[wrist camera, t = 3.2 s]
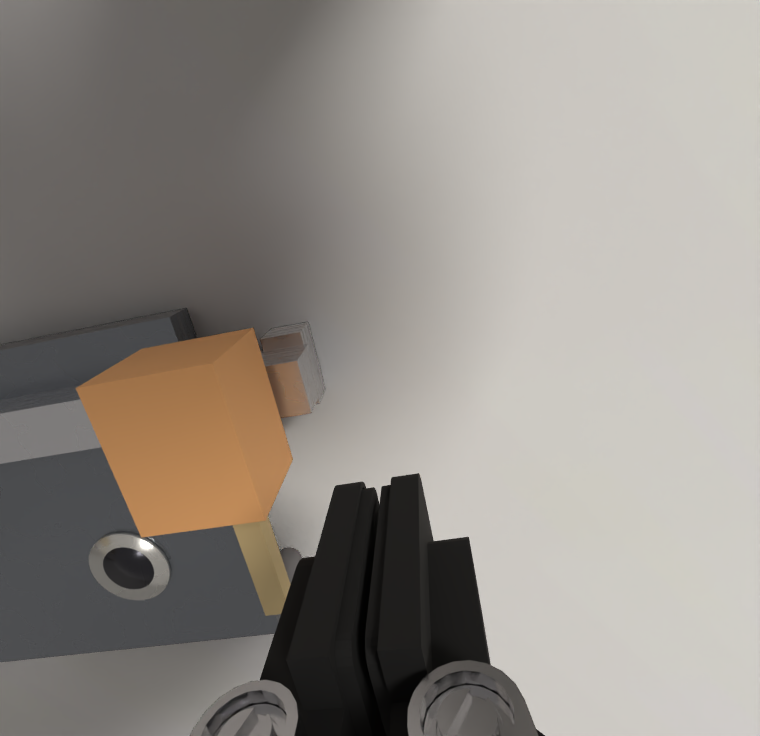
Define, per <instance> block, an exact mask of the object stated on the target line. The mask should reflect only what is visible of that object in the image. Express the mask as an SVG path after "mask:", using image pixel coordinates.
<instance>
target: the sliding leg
mask: <svg viewBox="0 0 760 736" xmlns="http://www.w3.org/2000/svg"><path fill="white" fill-rule="evenodd" d="M76 390H77V393H78V395H79V397H80V399H81V402H82V404H83V406H84V409H85V411H86V413H87V415H88V418H89V420H90V422H91V424H92V427H93V429H94V431H95V433H96V436H97V438H98V440H99V443H100V445H101V447H102V449H103V452H104V454H105V456H106V458H107V461H108V463H109V465H110V468H111V470H112V472H113V474H114V477H115V479H116V481H117V483H118V486H119V488H120V490H121V492H122V495H123V497H124V499H125V502H126V504H127V506H128V508H129V511H130V513H131V515H132V517H133V520H134V522H135V524H136V527H137V529H138V531H139V533H140V536H141V538H142V537H149V536H156V535H164V534H171V533H179V532H186V531H193V530H201V529H208V528H215V527H223V526H230V525H233V528H234V531H235V533H236V536H237V539H238V542H239V544H240V547H241V550H242V553H243V555H244V558H245V561H246V564H247V566H248V569H249V572H250V575H251V577H252V580H253V583H254V586H255V588H256V591H257V594H258V597H259V599H260V602H261V605H262V608H263V610H264V613H265V616H268V615H277V614H281V613H282V610H283V606H284V603H285V600H286V597H287V594H288V591H289V588H290V585H291V582H292V579H293V575H294V572H295V569H296V566H297V564H298V562H299V560H301V559H302V557H301V554H300V552H299V551H298V550H296V549H294V548H284V549H282V550H281V551H279V548H278V545H277V542H276V539H275V536H274V533H273V530H272V527H271V524H270V521H269V518H268V514H269V512H270V510H271V508H272V505H273V503H274V501H275V499H276V496H277V494H278V492H279V490H280V487H281V485H282V483H283V481H284V478H285V476H286V474H287V472H288V469H289V467H290V465H291V462H292V460H293V458H292V455H291V451H290V448H289V445H288V441H287V438H286V435H285V431H284V428H283V425H282V421H281V418H280V415H279V411H278V408H277V405H276V401H275V398H274V395H273V391H272V388H271V385H270V381H269V378H268V375H267V371H266V368H265V365H264V361H263V358H262V355H261V351H260V348H259V345H258V341H257V338H256V335H255V331H254V328H249V329H243V330H238V331H233V332H228V333H222V334H217V335H212V336H206V337H201V338H196V339H191V340H185V341H180V342H175V343H169V344H164V345H159V346H154V347H148V348H143V349H140V350H139V351H137V352H135V353H134V354H132V355H130V356H129V357H127V358H125V359H124V360H122V361H120V362H119V363H117V364H115V365H114V366H112V367H110V368H109V369H107V370H105V371H104V372H102V373H100V374H99V375H97V376H95V377H94V378H92V379H90V380H89V381H87V382H85V383H83V384H82V385H80V386H78V387H77V388H76Z"/></svg>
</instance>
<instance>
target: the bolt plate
mask: <svg viewBox="0 0 760 736" xmlns="http://www.w3.org/2000/svg"><path fill="white" fill-rule="evenodd" d="M196 338H197V337H196V334H195V331H194V329H193V326H192V323H191V320H190V317H189V314H188V311H187V308H184V309H179V310H174V311H169V312H164V313H159V314H154V315H149V316H144V317H139V318H134V319H129V320H123V321H118V322H113V323H108V324H103V325H98V326H93V327H88V328H83V329H78V330H73V331H68V332H63V333H58V334H53V335H48V336H43V337H38V338H33V339H28V340H23V341H18V342H13V343H8V344H3V345H0V662H6V661H16V660H26V659H35V658H45V657H54V656H64V655H73V654H83V653H93V652H102V651H112V650H121V649H131V648H141V647H150V646H160V645H169V644H179V643H188V642H198V641H208V640H217V639H227V638H236V637H246V636H256V635H265V634H275V631H276V628H277V625H278V622H279V619H280V616H281V614H277V615H268V616H265V613H264V610H263V608H262V605H261V602H260V599H259V597H258V594H257V591H256V588H255V586H254V583H253V580H252V577H251V575H250V572H249V569H248V566H247V564H246V561H245V558H244V555H243V553H242V550H241V547H240V544H239V542H238V539H237V536H236V533H235V531H234V528H233V525H230V526H223V527H215V528H208V529H201V530H193V531H186V532H179V533H171V534H164V535H156V536H149V537H142V538H141V536H140V533H139V531H138V529H137V527H136V524H135V522H134V520H133V517H132V515H131V513H130V511H129V508H128V506H127V504H126V502H125V499H124V497H123V495H122V492H121V490H120V488H119V486H118V483H117V481H116V479H115V477H114V474H113V472H112V470H111V468H110V465H109V463H108V461H107V458H106V456H105V454H104V452H103V449H102V447H101V445H100V443H99V440H98V438H97V436H96V433H95V431H94V429H93V427H92V424H91V422H90V420H89V418H88V415H87V413H86V411H85V409H84V406H83V404H82V402H81V399H80V397H79V395H78V393H77V390H76V388H77V387H78V386H80V385H82V384H83V383H85V382H87V381H89V380H90V379H92V378H94V377H95V376H97V375H99V374H100V373H102V372H104V371H105V370H107V369H109V368H110V367H112V366H114V365H115V364H117V363H119V362H120V361H122V360H124V359H125V358H127V357H129V356H130V355H132V354H134V353H135V352H137V351H139V350H140V349H143V348H148V347H154V346H159V345H164V344H169V343H175V342H180V341H185V340H191V339H196ZM260 341H261V344H262V347H263V351H264V352H261V355H262V358H263V361H264V365H265V368H266V371H267V375H268V378H269V381H270V385H271V388H272V391H273V395H274V398H275V401H276V405H277V408H278V411H279V415H280V418H284V417H290V416H297V415H303V414H309V413H312V411H313V408H314V406H315V404H319V403H320V401H321V399H322V397H323V394H324V392H325V390H326V388H325V384H324V380H323V377H322V373H321V369H320V365H319V361H318V357H317V354H316V350H315V346H314V342H313V338H312V335H311V331H310V327H309V323H308V322H305V323H299V324H294V325H289V326H283V327H278V328H273V329H270V330H269V331H268V332H267V333H266V334H265V335H264V336H263V337H262V338H261V339H260Z"/></svg>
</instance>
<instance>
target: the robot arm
mask: <svg viewBox="0 0 760 736" xmlns="http://www.w3.org/2000/svg"><path fill="white" fill-rule="evenodd" d="M189 736H545V735H543V734H542V733H541V732H539V731H538V730H537V729H536V728H535V725H534V722H533V720H532V717H531V715H530V712H529V710H528V707H527V704H526V702H525V699H524V698H523V696H522V694H521V692H520V691H519V689H518V687H517V685H516V684H515V683H514V682H513V681H512V680H511V679H510V678H509V677H508V676H507V675H506V674H505V673H504V672H503V671H501V670H499V669H497V668H495V667H493V666H491V664H490V658H489V652H488V646H487V640H486V634H485V628H484V622H483V616H482V610H481V604H480V599H479V593H478V587H477V581H476V575H475V570H474V564H473V558H472V553H471V547H470V541H469V537H464V538H456V539H449V540H441V541H433V536H432V531H431V526H430V521H429V516H428V511H427V506H426V502H425V497H424V492H423V487H422V482H421V478H420V475H419V473H418V474H412V475H405V476H398V477H392V478H391V485H387V486H382V489H381V497H380V505H379V501H378V496H377V493H376V490H375V488H374V487H373V488H367V489H366V486H365V484H364V482H357V483H350V484H343V485H337V486H335V488H334V491H333V495H332V498H331V502H330V505H329V509H328V513H327V516H326V520H325V523H324V527H323V530H322V534H321V538H320V541H319V545H318V548H317V552H316V556H315V557H308V558H302V559H301V560H299V562H298V564H297V566H296V569H295V572H294V575H293V579H292V582H291V585H290V588H289V591H288V594H287V597H286V600H285V603H284V606H283V610H282V613H281V616H280V619H279V622H278V625H277V628H276V631H275V634H274V638H273V641H272V644H271V647H270V650H269V653H268V656H267V659H266V662H265V665H264V669H263V672H262V675H261V678H260V681H251V682H248V683H246V684H243V685H240V686H238V687H235V688H233V689H232V690H230V691H229V692H227V693H226V694H224V695H223V696H221V697H220V698H218V699H217V700H216V701H215V702H214V703H213V704H212V705H211V706H210V707H209V708H208V709H207V710H206V711H205V712H204V714H203V715H202V717H201V718H200V720H199V721H198V722H197V724H196V725H195V727H194V728H193V730H192V732H191V734H190V735H189Z"/></svg>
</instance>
